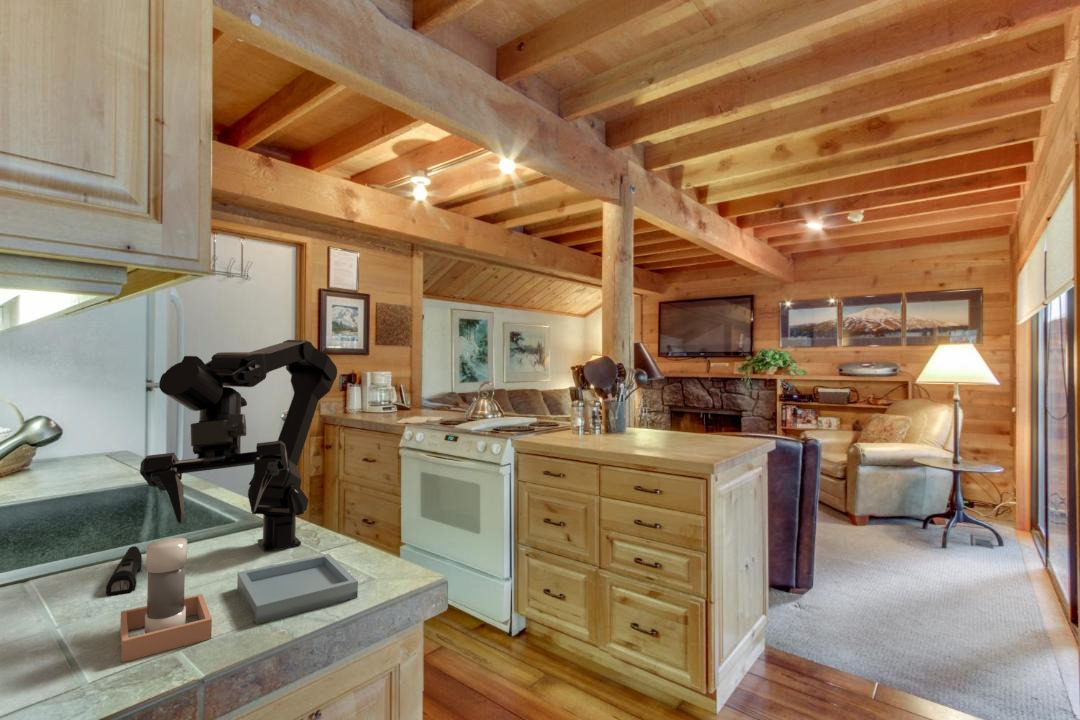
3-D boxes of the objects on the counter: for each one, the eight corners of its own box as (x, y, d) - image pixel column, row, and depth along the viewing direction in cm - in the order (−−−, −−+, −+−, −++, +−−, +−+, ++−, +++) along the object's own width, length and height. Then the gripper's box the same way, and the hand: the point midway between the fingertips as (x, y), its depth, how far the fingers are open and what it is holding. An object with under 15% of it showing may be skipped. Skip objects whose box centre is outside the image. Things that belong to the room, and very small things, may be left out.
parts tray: (237, 588, 85) (237, 572, 85) (328, 567, 93) (328, 553, 93) (256, 624, 74) (256, 606, 74) (357, 597, 82) (357, 581, 82)
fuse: (143, 632, 71) (145, 542, 71) (183, 622, 74) (185, 535, 74) (145, 647, 67) (147, 552, 67) (187, 636, 70) (189, 544, 70)
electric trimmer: (147, 561, 96) (147, 543, 96) (135, 594, 82) (135, 573, 82) (120, 564, 94) (120, 546, 94) (103, 599, 80) (104, 577, 80)
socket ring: (120, 630, 71) (120, 611, 71) (201, 611, 77) (202, 593, 77) (121, 662, 64) (122, 641, 64) (211, 638, 70) (211, 619, 70)
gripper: (134, 402, 76) (120, 509, 68) (280, 391, 83) (283, 486, 75) (155, 438, 85) (146, 536, 77) (286, 424, 92) (289, 513, 84)
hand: (217, 517), depth 78 cm, fingers open, 9 cm apart
